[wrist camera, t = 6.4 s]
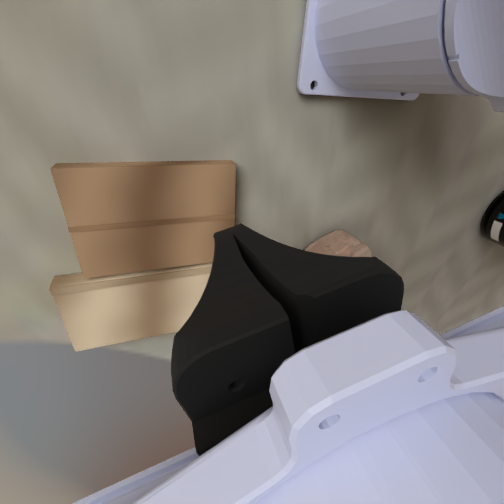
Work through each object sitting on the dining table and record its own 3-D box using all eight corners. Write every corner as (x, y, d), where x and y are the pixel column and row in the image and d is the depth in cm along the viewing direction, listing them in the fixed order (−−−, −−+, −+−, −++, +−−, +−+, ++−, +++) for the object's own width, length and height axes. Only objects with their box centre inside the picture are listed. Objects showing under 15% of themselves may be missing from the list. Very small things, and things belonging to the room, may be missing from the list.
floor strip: (241, 253, 22) (247, 262, 21) (239, 309, 25) (243, 319, 24) (54, 276, 18) (48, 288, 17) (78, 339, 22) (74, 353, 20)
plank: (230, 159, 18) (236, 164, 17) (230, 251, 22) (234, 259, 21) (56, 163, 15) (50, 168, 14) (87, 268, 19) (83, 279, 18)
